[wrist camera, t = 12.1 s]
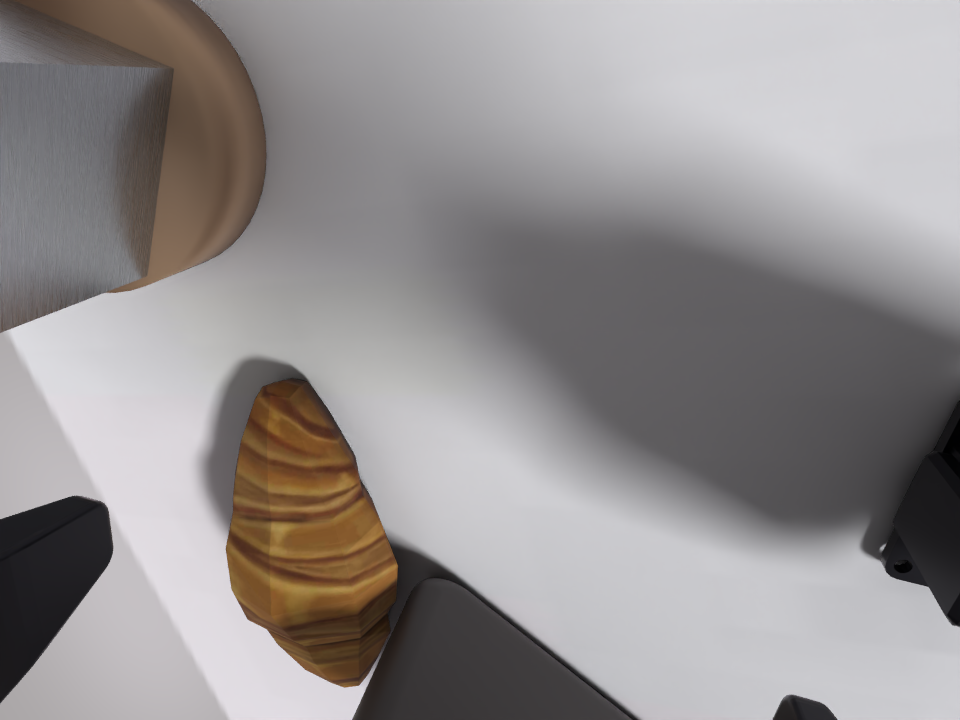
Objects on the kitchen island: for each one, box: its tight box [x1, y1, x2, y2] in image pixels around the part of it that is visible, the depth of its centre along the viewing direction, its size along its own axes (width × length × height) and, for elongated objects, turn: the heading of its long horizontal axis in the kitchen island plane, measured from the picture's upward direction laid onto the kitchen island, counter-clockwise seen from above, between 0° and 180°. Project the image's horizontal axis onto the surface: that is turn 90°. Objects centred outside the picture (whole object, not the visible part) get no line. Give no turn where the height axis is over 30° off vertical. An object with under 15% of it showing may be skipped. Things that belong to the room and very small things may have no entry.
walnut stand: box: [14, 0, 266, 293], centre depth 19 cm, size 9×9×3 cm
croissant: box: [226, 378, 398, 688], centre depth 24 cm, size 14×7×5 cm, turn 7°
